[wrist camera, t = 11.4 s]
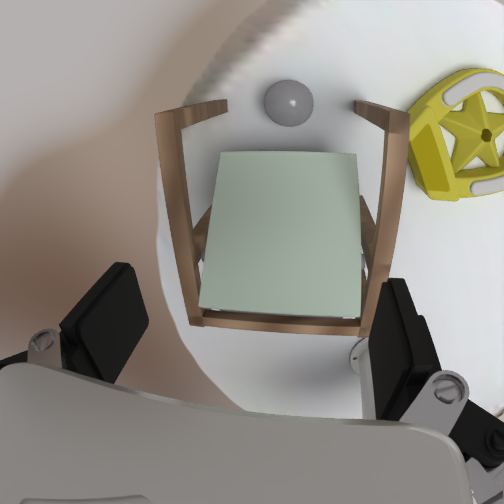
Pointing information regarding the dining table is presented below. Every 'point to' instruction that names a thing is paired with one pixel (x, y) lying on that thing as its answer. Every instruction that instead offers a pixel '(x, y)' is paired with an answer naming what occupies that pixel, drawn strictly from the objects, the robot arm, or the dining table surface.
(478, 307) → the dining table surface
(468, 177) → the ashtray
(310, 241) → the pale green flat block
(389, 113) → the frame
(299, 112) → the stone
